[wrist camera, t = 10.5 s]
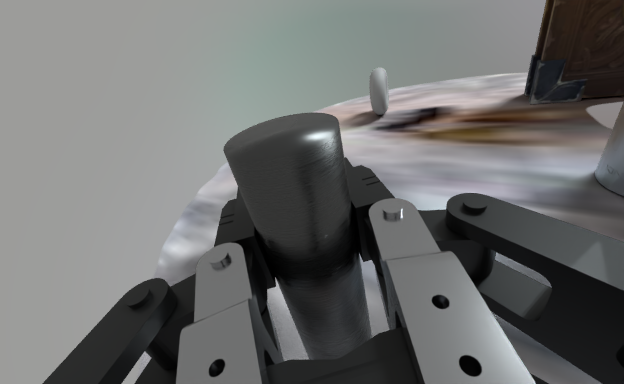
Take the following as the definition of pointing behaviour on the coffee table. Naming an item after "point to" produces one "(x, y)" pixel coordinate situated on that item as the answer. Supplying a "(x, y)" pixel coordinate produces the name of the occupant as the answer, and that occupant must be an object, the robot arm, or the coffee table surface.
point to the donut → (379, 91)
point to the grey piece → (306, 226)
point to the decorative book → (578, 52)
